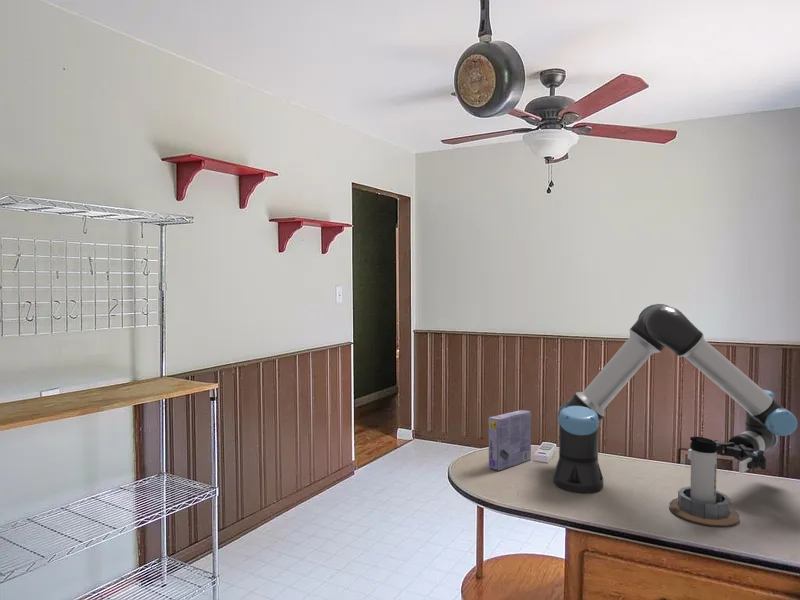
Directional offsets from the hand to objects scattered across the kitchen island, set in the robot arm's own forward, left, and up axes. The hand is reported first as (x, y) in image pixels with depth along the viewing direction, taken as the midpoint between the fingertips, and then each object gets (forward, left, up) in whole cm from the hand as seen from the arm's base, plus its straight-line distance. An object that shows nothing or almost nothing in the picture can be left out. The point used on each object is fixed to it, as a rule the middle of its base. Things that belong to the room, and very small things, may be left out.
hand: (713, 461), depth 155 cm
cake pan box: (-51, -35, -14) cm, 64 cm away
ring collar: (+1, -4, -14) cm, 14 cm away
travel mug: (+1, -4, -13) cm, 14 cm away
